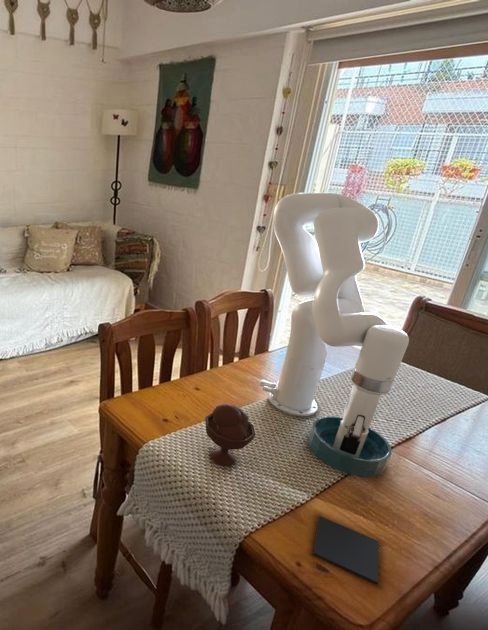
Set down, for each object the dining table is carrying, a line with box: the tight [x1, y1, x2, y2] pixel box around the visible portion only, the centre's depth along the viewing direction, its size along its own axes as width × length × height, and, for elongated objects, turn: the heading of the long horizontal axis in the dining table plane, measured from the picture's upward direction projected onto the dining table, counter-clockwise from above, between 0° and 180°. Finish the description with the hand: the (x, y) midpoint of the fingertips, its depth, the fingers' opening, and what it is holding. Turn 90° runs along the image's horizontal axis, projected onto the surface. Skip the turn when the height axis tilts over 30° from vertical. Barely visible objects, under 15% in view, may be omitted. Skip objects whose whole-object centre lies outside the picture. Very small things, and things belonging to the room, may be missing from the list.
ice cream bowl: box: [204, 403, 256, 467], centre depth 100 cm, size 11×11×15 cm
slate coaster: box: [312, 515, 380, 585], centre depth 82 cm, size 10×10×1 cm
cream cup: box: [332, 420, 369, 458], centre depth 104 cm, size 6×6×8 cm
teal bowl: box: [307, 415, 392, 478], centre depth 105 cm, size 16×16×5 cm
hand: (348, 443), depth 105 cm, fingers closed on cream cup, 5 cm apart
